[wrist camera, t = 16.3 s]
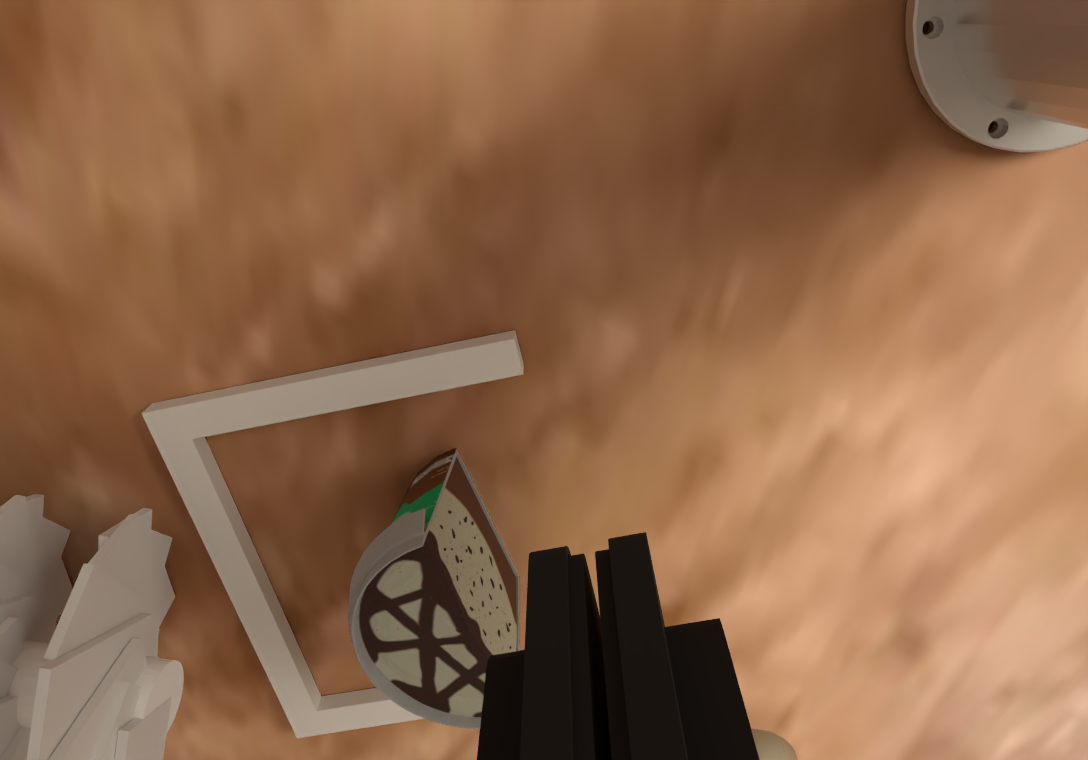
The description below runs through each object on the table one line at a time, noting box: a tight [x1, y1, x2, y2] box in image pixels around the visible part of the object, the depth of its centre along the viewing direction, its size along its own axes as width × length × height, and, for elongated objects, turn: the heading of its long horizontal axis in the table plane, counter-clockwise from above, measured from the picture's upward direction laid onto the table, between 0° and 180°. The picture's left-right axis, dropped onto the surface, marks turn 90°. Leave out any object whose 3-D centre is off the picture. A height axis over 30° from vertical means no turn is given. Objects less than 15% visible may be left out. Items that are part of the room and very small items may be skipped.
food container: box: [348, 448, 520, 729], centre depth 41 cm, size 12×6×10 cm, turn 21°
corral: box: [141, 330, 524, 738], centre depth 46 cm, size 20×24×1 cm
